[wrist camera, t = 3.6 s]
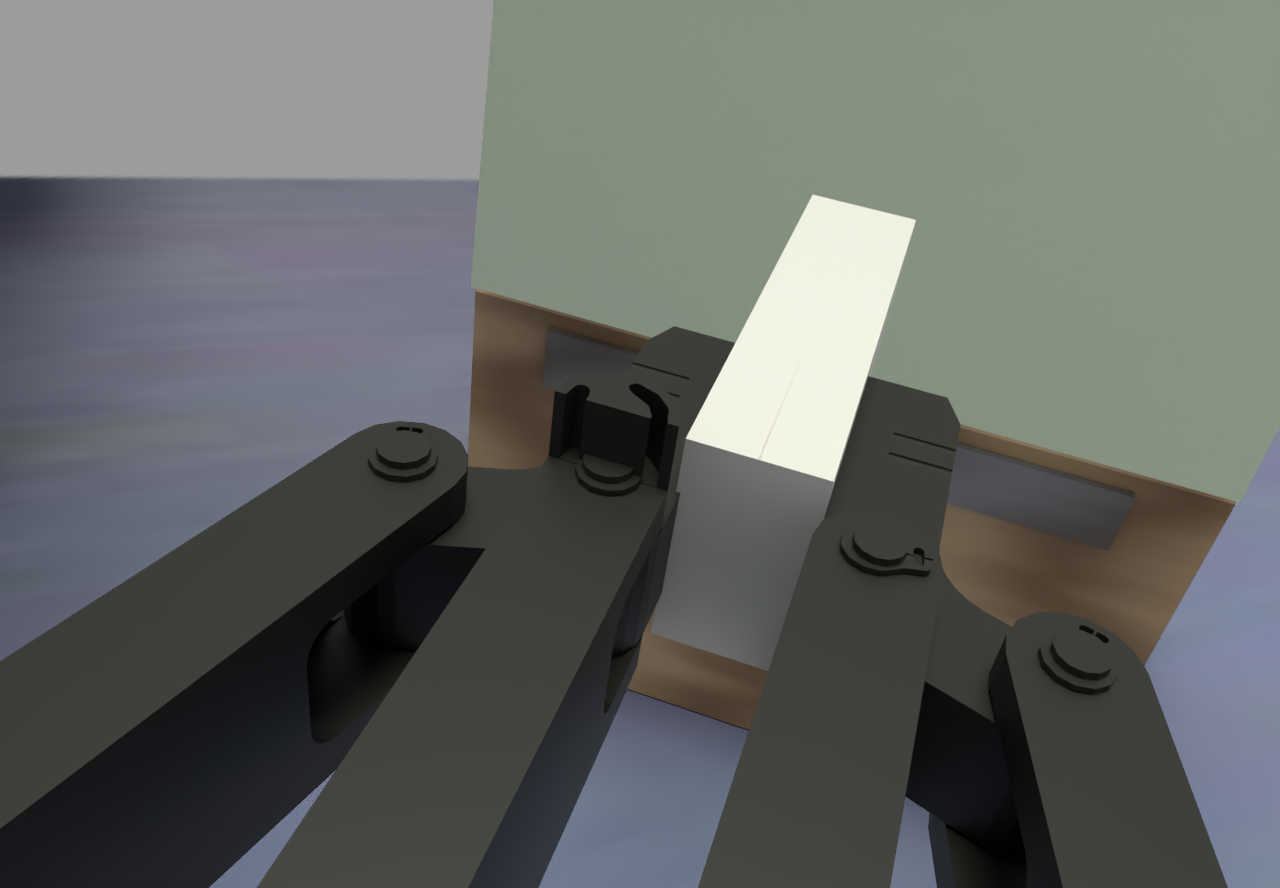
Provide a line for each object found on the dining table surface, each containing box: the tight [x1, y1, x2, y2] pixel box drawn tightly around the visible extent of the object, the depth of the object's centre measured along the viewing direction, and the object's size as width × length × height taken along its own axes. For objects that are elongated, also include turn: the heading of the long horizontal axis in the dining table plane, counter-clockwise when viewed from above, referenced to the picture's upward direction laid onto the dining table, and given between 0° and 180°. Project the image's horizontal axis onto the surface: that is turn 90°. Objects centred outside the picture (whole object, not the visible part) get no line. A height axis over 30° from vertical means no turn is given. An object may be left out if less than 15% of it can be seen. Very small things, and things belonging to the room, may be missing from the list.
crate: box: [468, 289, 1235, 730], centre depth 35 cm, size 18×12×12 cm
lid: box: [471, 0, 1280, 503], centre depth 23 cm, size 18×12×1 cm
